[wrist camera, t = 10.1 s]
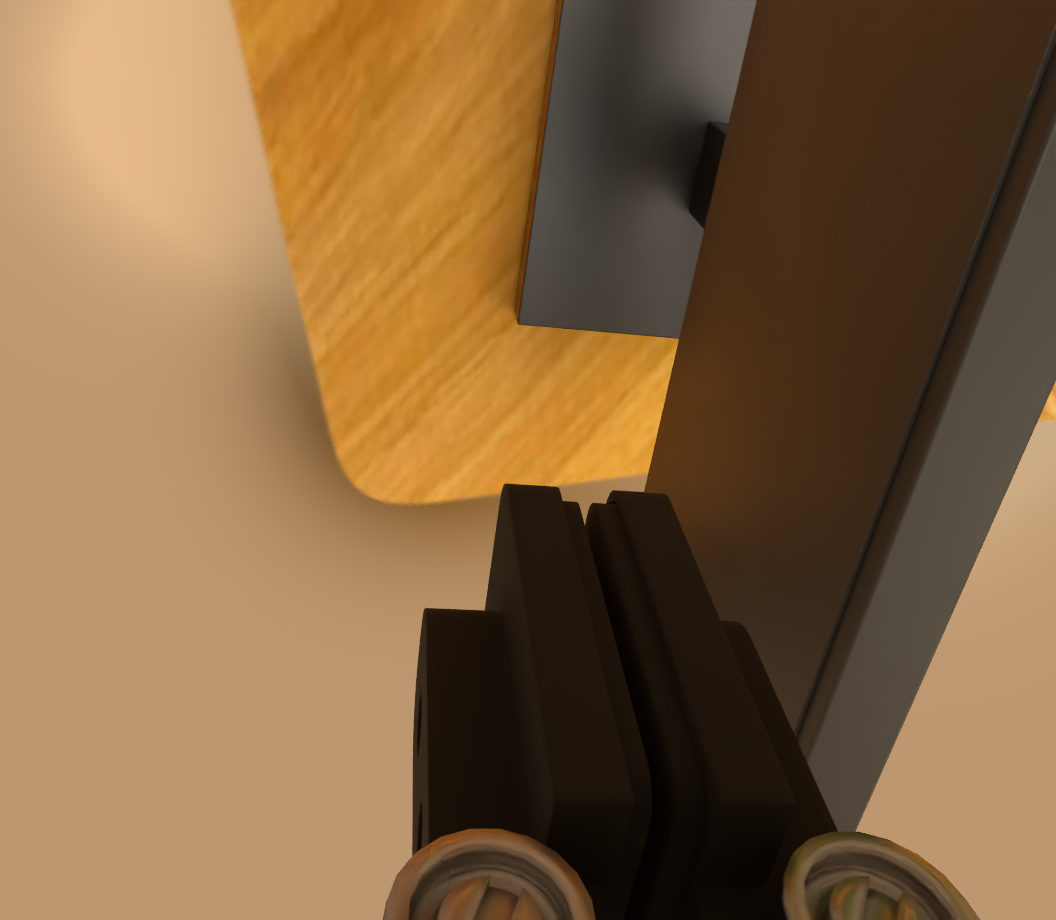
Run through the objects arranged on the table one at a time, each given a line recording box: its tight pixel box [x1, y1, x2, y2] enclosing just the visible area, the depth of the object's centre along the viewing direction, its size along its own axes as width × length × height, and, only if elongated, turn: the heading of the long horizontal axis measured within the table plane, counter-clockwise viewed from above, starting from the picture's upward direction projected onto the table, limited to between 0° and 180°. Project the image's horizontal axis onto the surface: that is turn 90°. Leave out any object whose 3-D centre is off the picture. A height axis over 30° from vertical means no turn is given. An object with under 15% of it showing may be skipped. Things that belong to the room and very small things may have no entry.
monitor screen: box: [644, 0, 1056, 832], centre depth 20 cm, size 2×17×12 cm, turn 172°
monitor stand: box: [514, 0, 757, 338], centre depth 28 cm, size 10×12×12 cm
